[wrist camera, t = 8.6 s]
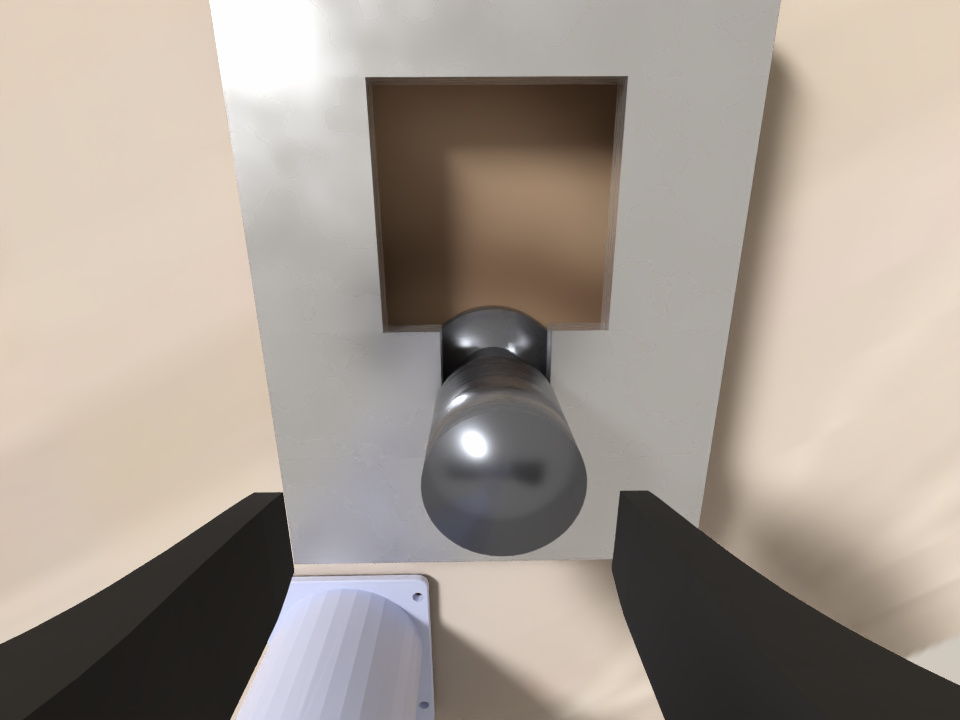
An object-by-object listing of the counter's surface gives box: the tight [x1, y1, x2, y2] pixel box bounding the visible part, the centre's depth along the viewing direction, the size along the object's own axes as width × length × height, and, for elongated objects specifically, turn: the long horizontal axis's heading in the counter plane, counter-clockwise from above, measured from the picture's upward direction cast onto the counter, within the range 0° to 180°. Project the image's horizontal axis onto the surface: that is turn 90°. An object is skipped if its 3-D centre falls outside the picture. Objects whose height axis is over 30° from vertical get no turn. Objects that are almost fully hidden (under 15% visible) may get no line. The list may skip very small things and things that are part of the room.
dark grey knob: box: [421, 305, 587, 556], centre depth 16 cm, size 6×6×8 cm
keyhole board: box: [372, 84, 618, 331], centre depth 19 cm, size 22×17×1 cm
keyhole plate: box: [210, 0, 781, 564], centre depth 17 cm, size 20×15×3 cm
